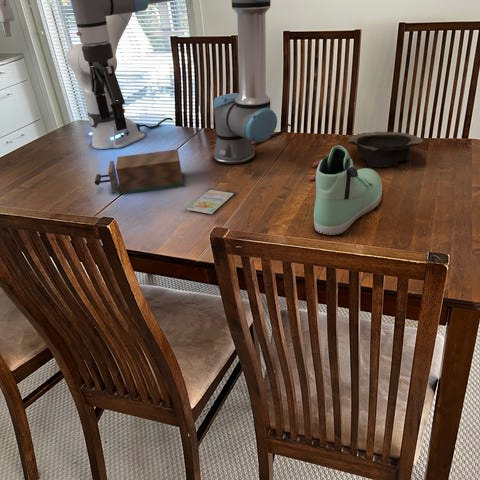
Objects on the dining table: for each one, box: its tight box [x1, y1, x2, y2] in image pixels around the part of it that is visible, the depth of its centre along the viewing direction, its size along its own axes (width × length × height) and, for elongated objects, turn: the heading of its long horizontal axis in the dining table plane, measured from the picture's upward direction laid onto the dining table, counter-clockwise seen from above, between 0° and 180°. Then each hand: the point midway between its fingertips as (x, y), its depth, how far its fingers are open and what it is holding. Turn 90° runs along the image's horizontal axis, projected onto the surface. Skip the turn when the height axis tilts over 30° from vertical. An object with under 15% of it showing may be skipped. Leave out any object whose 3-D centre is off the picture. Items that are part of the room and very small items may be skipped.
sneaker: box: [313, 145, 383, 236], centre depth 133 cm, size 14×35×20 cm, turn 152°
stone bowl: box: [347, 131, 425, 168], centre depth 166 cm, size 25×25×9 cm
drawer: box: [94, 160, 119, 193], centre depth 161 cm, size 24×10×7 cm, turn 100°
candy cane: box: [309, 160, 321, 182], centre depth 162 cm, size 6×15×2 cm, turn 145°
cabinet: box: [115, 148, 184, 195], centre depth 162 cm, size 20×11×9 cm, turn 100°
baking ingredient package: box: [186, 189, 235, 215], centre depth 148 cm, size 9×1×15 cm
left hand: (2, 35), depth 160 cm, fingers open, 8 cm apart
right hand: (113, 123), depth 135 cm, fingers open, 13 cm apart
